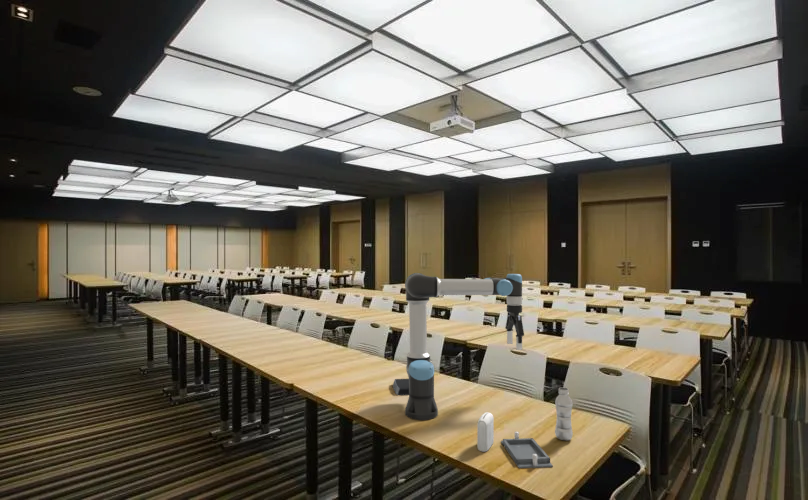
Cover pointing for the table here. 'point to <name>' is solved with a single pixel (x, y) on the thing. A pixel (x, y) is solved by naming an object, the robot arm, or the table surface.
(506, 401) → the table surface
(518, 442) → the tray
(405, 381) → the external hard drive
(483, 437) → the photo printer
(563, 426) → the plastic bottle
